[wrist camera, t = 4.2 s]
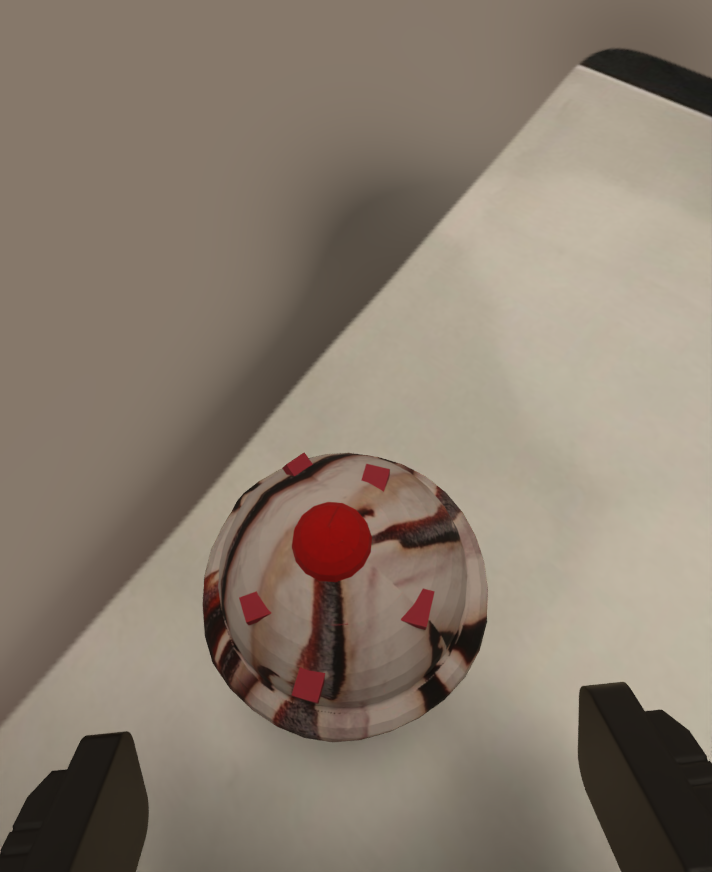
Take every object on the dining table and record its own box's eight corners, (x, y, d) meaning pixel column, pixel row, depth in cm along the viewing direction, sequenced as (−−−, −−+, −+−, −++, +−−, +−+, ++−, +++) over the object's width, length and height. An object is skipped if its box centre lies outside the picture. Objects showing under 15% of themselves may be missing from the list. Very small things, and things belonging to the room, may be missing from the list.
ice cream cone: (306, 566, 25) (221, 332, 12) (457, 605, 24) (552, 403, 11) (256, 727, 23) (76, 665, 9) (421, 777, 22) (487, 789, 9)
